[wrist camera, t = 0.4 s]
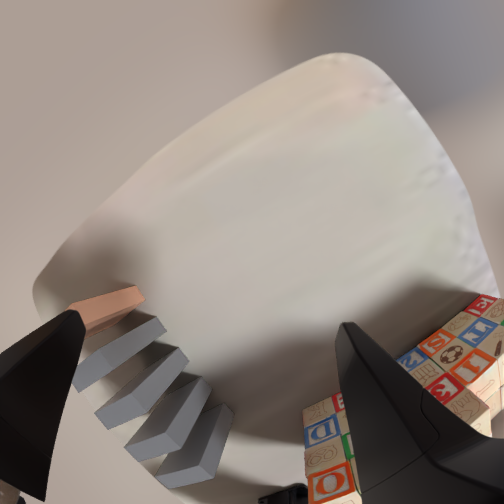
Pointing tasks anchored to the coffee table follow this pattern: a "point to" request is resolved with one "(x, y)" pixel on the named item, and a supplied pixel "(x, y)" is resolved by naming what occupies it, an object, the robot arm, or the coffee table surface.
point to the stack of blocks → (430, 377)
